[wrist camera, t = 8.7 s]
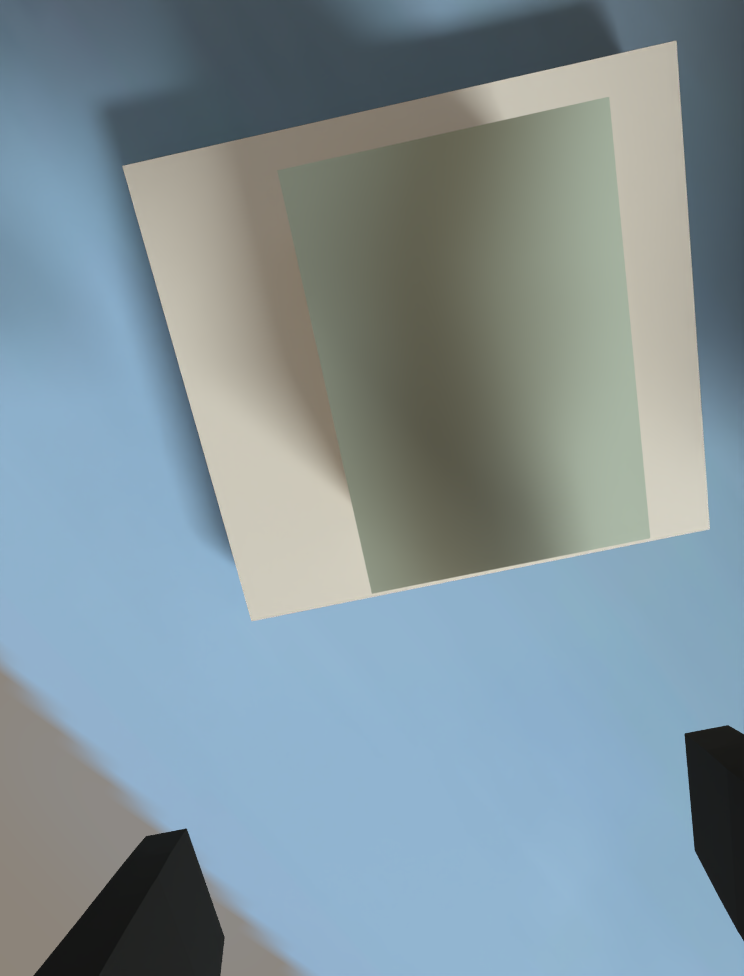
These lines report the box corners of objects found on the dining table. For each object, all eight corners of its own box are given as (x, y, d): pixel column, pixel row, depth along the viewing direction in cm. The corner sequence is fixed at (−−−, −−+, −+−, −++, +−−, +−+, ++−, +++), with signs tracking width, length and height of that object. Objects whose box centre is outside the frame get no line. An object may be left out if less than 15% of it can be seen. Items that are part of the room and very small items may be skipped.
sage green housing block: (526, 173, 13) (609, 96, 9) (565, 477, 15) (650, 538, 11) (303, 222, 13) (276, 170, 9) (368, 517, 15) (372, 593, 11)
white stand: (634, 78, 15) (676, 40, 13) (670, 507, 17) (709, 528, 15) (152, 187, 15) (122, 166, 13) (263, 589, 18) (251, 621, 16)
